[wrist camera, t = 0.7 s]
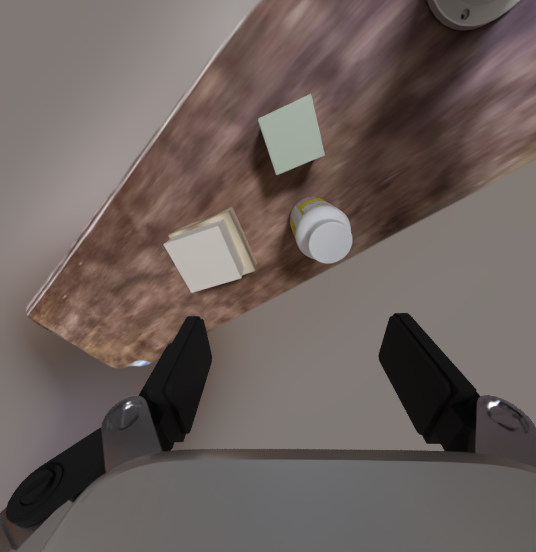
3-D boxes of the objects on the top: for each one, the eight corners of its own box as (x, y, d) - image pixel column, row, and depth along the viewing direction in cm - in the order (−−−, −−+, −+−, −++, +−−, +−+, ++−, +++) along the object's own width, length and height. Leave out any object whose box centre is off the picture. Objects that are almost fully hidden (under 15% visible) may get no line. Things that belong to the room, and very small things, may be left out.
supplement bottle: (315, 245, 36) (335, 281, 25) (281, 225, 35) (287, 255, 23) (339, 209, 34) (375, 232, 22) (304, 187, 32) (323, 199, 21)
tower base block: (232, 206, 34) (228, 211, 30) (256, 260, 38) (255, 270, 35) (178, 228, 36) (168, 235, 32) (206, 278, 40) (200, 289, 36)
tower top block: (224, 218, 31) (218, 225, 27) (244, 266, 34) (241, 278, 31) (175, 235, 32) (163, 244, 29) (199, 279, 36) (191, 292, 32)
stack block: (303, 107, 28) (310, 93, 22) (315, 156, 30) (324, 155, 25) (260, 127, 29) (257, 118, 23) (275, 173, 31) (276, 175, 26)
